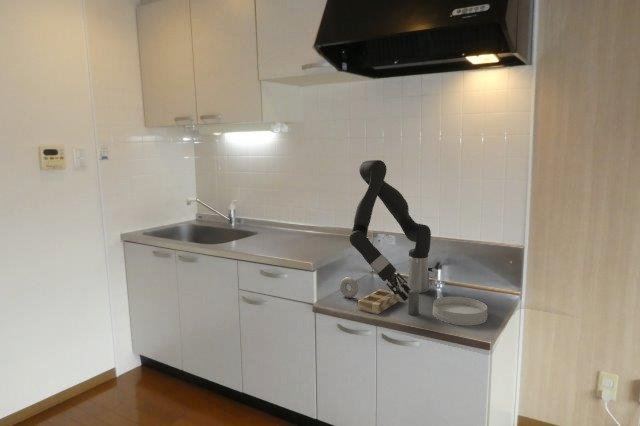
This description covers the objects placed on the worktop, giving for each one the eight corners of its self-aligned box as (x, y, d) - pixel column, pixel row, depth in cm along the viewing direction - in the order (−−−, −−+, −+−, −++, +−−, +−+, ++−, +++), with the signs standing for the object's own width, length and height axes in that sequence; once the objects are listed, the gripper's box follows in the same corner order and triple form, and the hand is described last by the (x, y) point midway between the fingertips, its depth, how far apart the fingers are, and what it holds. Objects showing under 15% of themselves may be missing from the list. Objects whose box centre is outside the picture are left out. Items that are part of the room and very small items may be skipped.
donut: (359, 298, 219) (359, 278, 217) (355, 300, 216) (355, 279, 215) (342, 294, 225) (342, 274, 224) (338, 296, 222) (338, 276, 221)
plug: (414, 311, 202) (415, 288, 200) (420, 314, 198) (421, 291, 196) (406, 312, 200) (406, 290, 199) (411, 316, 196) (412, 293, 195)
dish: (446, 303, 212) (446, 293, 211) (495, 314, 198) (495, 303, 197) (423, 317, 195) (423, 306, 194) (475, 330, 181) (475, 318, 181)
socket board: (379, 297, 221) (379, 288, 220) (398, 301, 215) (399, 292, 214) (357, 309, 205) (357, 299, 204) (378, 313, 199) (378, 304, 198)
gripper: (384, 266, 194) (411, 296, 191) (393, 258, 207) (418, 286, 204) (372, 277, 196) (398, 307, 193) (381, 269, 209) (406, 297, 206)
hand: (408, 296), depth 199 cm, fingers open, 8 cm apart
